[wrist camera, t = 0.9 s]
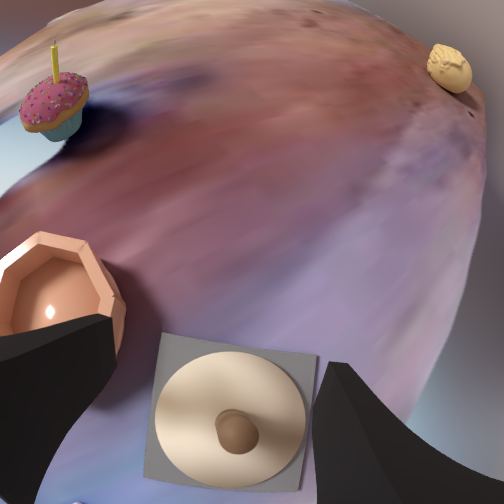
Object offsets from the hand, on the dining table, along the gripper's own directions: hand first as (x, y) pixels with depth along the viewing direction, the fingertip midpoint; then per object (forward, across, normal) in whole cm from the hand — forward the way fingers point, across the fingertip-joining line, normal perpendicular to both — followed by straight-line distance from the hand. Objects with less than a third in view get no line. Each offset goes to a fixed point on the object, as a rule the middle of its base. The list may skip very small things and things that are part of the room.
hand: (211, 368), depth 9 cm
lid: (+8, 0, +11) cm, 13 cm away
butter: (+56, -36, -39) cm, 77 cm away
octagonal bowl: (+8, +15, +6) cm, 18 cm away
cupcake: (+19, +25, -10) cm, 33 cm away
